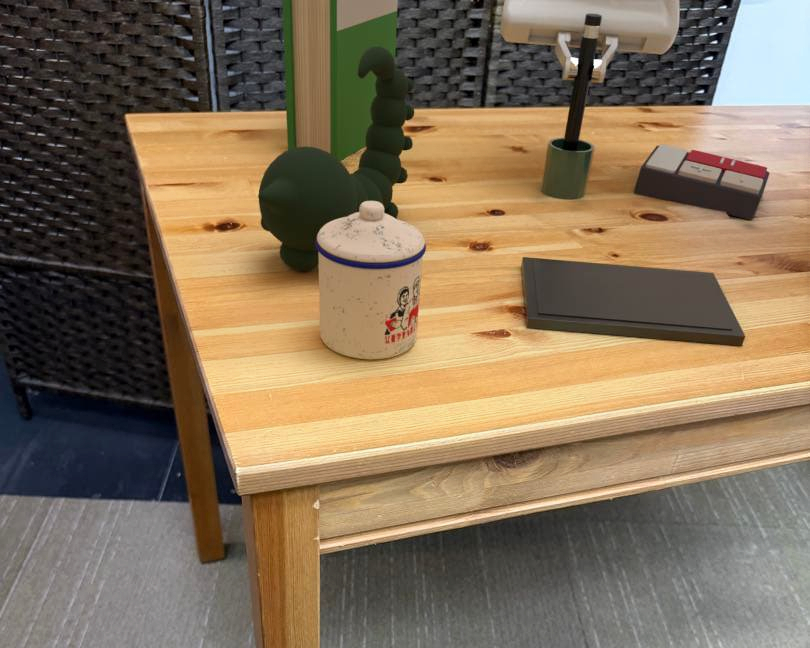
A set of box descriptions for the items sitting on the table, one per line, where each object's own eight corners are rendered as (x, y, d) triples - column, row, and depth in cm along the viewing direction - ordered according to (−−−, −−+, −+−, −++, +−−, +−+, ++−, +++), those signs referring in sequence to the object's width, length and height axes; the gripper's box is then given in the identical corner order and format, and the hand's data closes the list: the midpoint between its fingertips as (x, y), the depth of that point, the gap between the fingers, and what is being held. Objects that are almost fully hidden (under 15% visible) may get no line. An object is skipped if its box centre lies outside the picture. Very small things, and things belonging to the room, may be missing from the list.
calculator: (764, 190, 97) (642, 160, 101) (750, 225, 100) (632, 195, 104) (772, 165, 105) (658, 138, 108) (759, 199, 108) (649, 171, 111)
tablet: (710, 281, 86) (713, 271, 85) (742, 346, 75) (746, 335, 74) (521, 265, 86) (522, 255, 85) (526, 327, 76) (528, 316, 75)
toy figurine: (354, 221, 97) (220, 275, 79) (364, 36, 86) (211, 49, 67) (423, 239, 94) (301, 300, 76) (444, 50, 83) (306, 68, 64)
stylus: (575, 155, 101) (601, 14, 91) (575, 160, 100) (602, 17, 89) (560, 154, 101) (585, 12, 91) (560, 159, 100) (586, 15, 90)
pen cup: (582, 189, 105) (592, 139, 101) (586, 204, 101) (596, 153, 97) (539, 186, 105) (547, 136, 101) (541, 201, 101) (549, 149, 97)
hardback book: (336, 162, 108) (337, -62, 92) (287, 152, 110) (279, -69, 94) (392, 130, 120) (400, -73, 104) (347, 121, 122) (349, -79, 106)
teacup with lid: (403, 371, 68) (411, 233, 61) (301, 351, 70) (297, 214, 62) (438, 310, 77) (449, 183, 69) (347, 294, 79) (348, 168, 71)
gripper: (506, -65, 91) (496, 53, 91) (688, -51, 91) (680, 68, 90) (500, -24, 98) (491, 87, 97) (671, -10, 97) (662, 101, 97)
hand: (583, 78), depth 94 cm, fingers closed on stylus, 2 cm apart
